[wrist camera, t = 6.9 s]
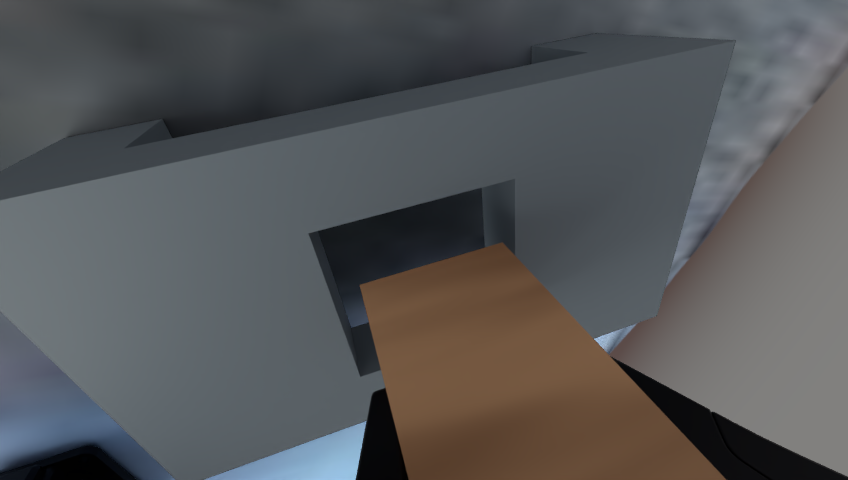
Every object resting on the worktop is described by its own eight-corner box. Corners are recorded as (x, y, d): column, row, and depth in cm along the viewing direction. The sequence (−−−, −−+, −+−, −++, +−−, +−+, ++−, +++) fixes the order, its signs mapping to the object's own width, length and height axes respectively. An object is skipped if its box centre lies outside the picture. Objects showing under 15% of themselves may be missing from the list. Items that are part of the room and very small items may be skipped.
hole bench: (573, 247, 22) (656, 315, 17) (213, 359, 18) (183, 487, 13) (595, 33, 16) (736, 40, 11) (63, 138, 12) (-94, 220, 7)
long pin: (505, 341, 12) (825, 827, 5) (389, 382, 12) (558, 1020, 4) (502, 242, 10) (1069, 843, 3) (359, 284, 9) (602, 1247, 2)
